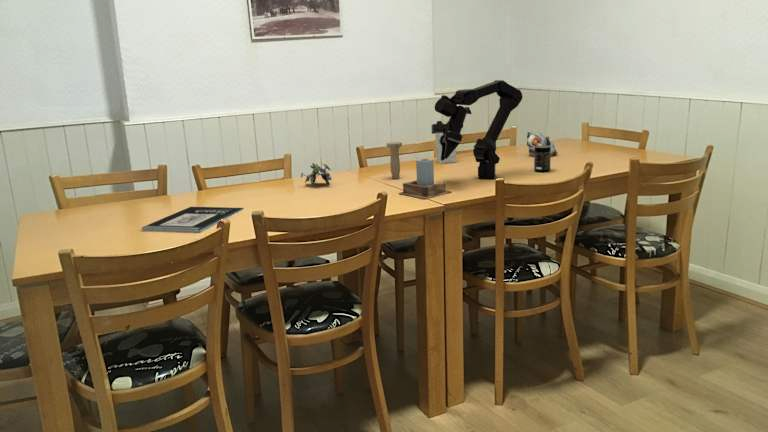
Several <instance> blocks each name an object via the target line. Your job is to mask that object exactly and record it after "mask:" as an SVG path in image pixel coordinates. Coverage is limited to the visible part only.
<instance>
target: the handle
mask: <svg viewBox="0 0 768 432" xmlns="http://www.w3.org/2000/svg"><path fill="white" fill-rule="evenodd" d="M386 147H387V148H389V149H390V173H391V179H393V180H398V179H400V176H401V175H400V173H401V163H400V162H401V161H400V151H399V150H400V148H401V147H403V142H402V141H393V142H387V143H386Z"/></svg>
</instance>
